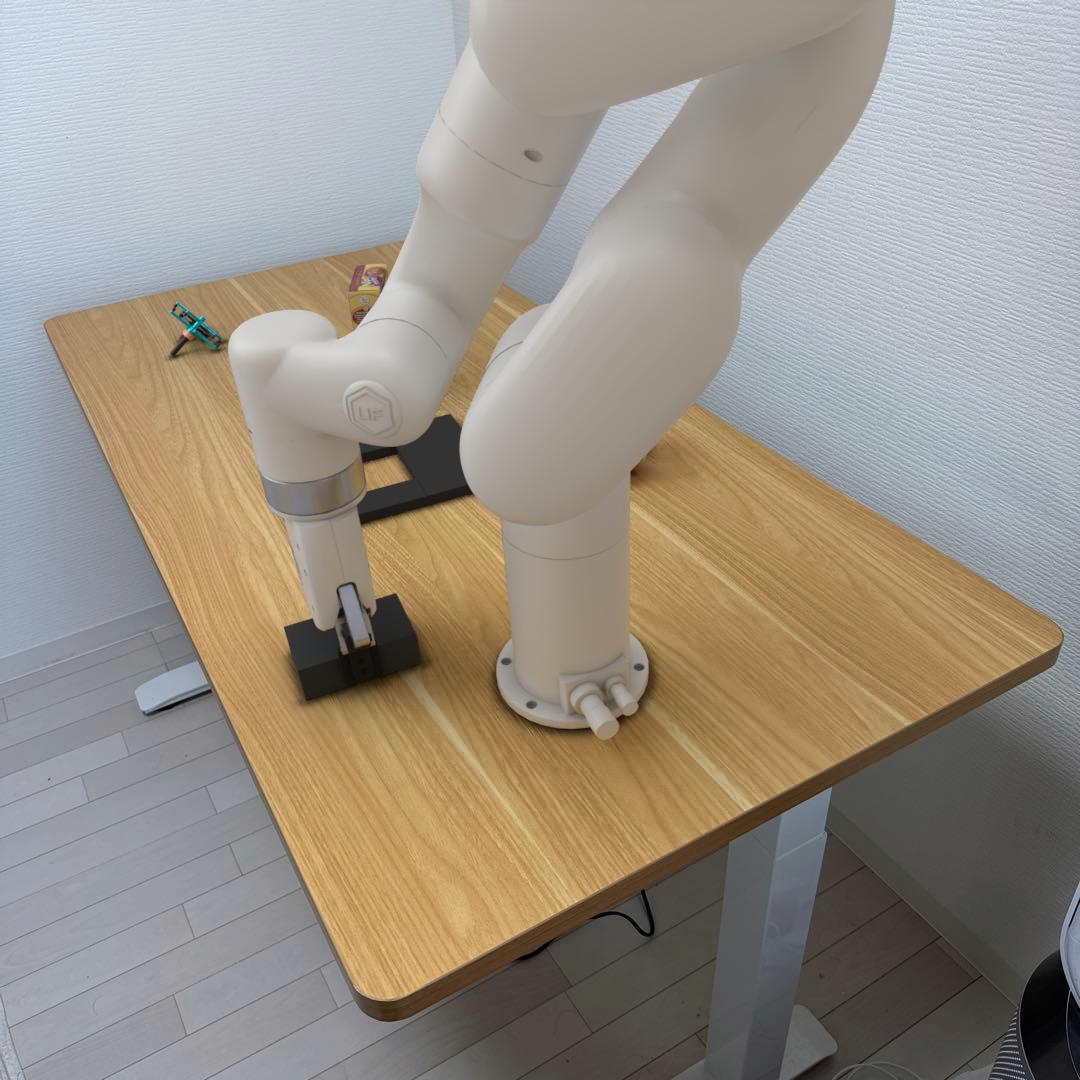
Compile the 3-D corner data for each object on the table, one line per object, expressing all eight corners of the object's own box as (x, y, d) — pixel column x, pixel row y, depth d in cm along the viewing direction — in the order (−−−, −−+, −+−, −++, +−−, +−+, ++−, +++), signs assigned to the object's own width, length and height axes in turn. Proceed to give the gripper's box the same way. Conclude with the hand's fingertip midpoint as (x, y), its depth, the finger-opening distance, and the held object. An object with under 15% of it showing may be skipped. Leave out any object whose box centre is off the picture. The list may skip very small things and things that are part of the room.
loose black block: (421, 663, 82) (416, 633, 80) (306, 700, 79) (297, 670, 77) (401, 621, 87) (396, 592, 85) (291, 655, 84) (283, 626, 82)
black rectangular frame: (499, 485, 104) (498, 476, 103) (298, 541, 98) (295, 531, 97) (451, 422, 116) (450, 413, 116) (269, 467, 110) (267, 458, 109)
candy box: (398, 406, 120) (380, 289, 111) (364, 408, 120) (343, 291, 111) (404, 374, 127) (387, 262, 119) (372, 376, 128) (352, 264, 119)
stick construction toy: (229, 338, 135) (182, 299, 131) (196, 376, 134) (148, 338, 131) (221, 331, 145) (177, 295, 142) (190, 367, 145) (146, 331, 141)
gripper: (245, 438, 78) (291, 609, 88) (286, 553, 64) (334, 737, 75) (336, 416, 80) (370, 585, 90) (394, 523, 67) (426, 706, 77)
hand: (354, 652), depth 83 cm, fingers closed on loose black block, 6 cm apart
